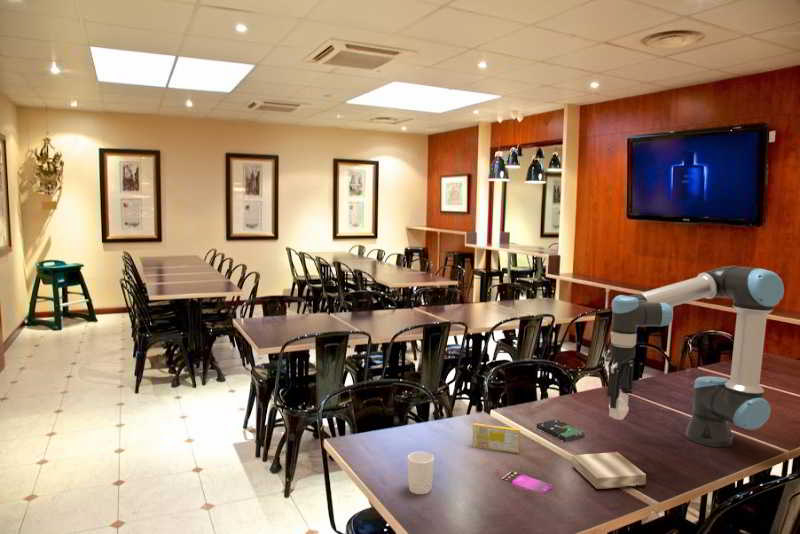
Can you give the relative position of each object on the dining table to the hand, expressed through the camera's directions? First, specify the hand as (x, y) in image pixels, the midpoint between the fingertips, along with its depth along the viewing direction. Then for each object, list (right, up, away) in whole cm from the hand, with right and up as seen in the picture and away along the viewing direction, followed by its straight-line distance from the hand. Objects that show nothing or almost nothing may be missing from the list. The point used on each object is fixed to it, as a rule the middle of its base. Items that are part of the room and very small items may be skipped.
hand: (618, 414), depth 186 cm
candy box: (-37, -16, +14) cm, 43 cm away
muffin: (0, -1, 0) cm, 1 cm away
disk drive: (-11, -15, +29) cm, 35 cm away
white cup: (-65, -19, -15) cm, 69 cm away
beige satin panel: (-6, -18, -5) cm, 20 cm away
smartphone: (-32, -19, -10) cm, 38 cm away
